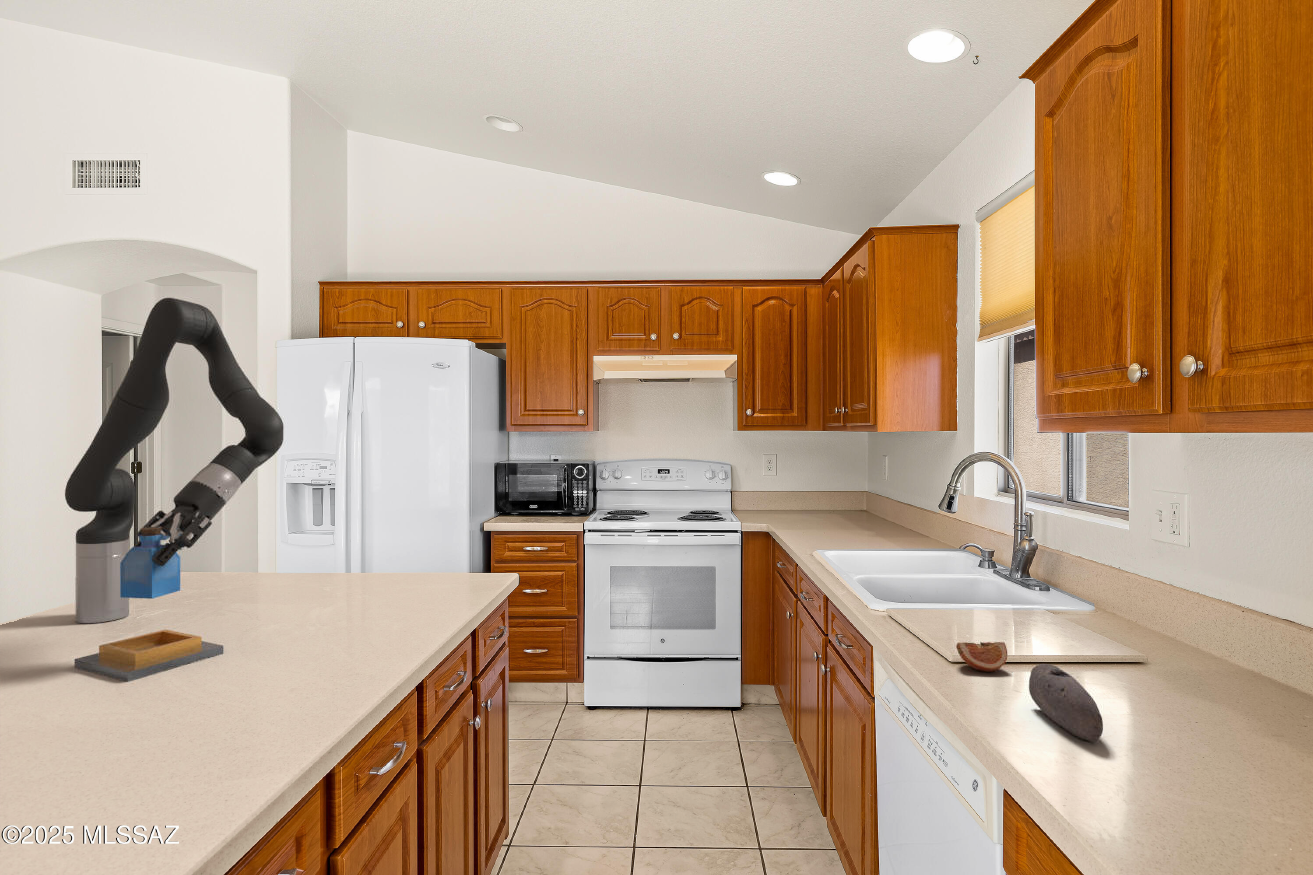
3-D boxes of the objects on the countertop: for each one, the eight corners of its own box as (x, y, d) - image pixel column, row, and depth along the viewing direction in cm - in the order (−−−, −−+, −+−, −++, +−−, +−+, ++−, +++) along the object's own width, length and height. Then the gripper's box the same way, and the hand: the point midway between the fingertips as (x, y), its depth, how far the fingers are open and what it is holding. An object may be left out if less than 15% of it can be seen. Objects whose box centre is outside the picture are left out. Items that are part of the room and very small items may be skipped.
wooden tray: (74, 667, 120) (74, 647, 120) (171, 642, 134) (171, 624, 134) (127, 681, 113) (127, 660, 113) (223, 653, 127) (223, 634, 127)
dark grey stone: (1118, 752, 89) (1118, 699, 89) (1076, 750, 90) (1076, 698, 90) (1061, 706, 104) (1061, 661, 104) (1025, 705, 105) (1025, 660, 105)
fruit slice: (964, 675, 118) (964, 646, 117) (949, 662, 124) (949, 635, 124) (1013, 676, 117) (1013, 647, 117) (995, 663, 124) (995, 636, 124)
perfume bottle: (180, 590, 126) (180, 526, 126) (152, 598, 120) (152, 531, 120) (149, 589, 127) (149, 525, 127) (120, 597, 121) (120, 530, 121)
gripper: (171, 478, 133) (103, 546, 123) (218, 480, 127) (150, 552, 117) (199, 502, 138) (136, 570, 128) (245, 506, 132) (183, 577, 122)
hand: (143, 561), depth 122 cm, fingers closed on perfume bottle, 7 cm apart
